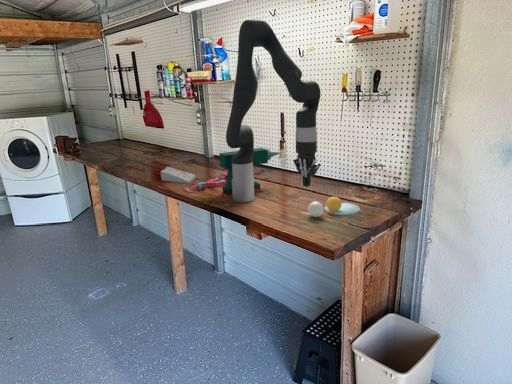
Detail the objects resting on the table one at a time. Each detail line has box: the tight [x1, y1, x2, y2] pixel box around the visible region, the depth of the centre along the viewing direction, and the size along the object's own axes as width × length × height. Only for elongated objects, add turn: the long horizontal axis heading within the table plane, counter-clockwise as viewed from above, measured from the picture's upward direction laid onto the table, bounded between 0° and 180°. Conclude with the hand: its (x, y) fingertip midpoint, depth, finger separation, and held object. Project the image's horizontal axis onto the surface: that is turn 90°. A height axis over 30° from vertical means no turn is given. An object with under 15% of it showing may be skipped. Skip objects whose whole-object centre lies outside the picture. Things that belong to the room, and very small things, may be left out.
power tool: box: [218, 147, 281, 199], centre depth 181 cm, size 32×7×20 cm, turn 115°
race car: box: [182, 170, 228, 194], centre depth 194 cm, size 14×6×25 cm
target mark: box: [324, 202, 361, 216], centre depth 153 cm, size 14×14×1 cm
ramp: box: [160, 166, 196, 184], centre depth 213 cm, size 28×16×5 cm, turn 39°
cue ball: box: [307, 201, 325, 218], centre depth 146 cm, size 6×6×6 cm
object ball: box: [325, 196, 343, 212], centre depth 150 cm, size 6×6×6 cm
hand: (306, 186), depth 139 cm, fingers closed
